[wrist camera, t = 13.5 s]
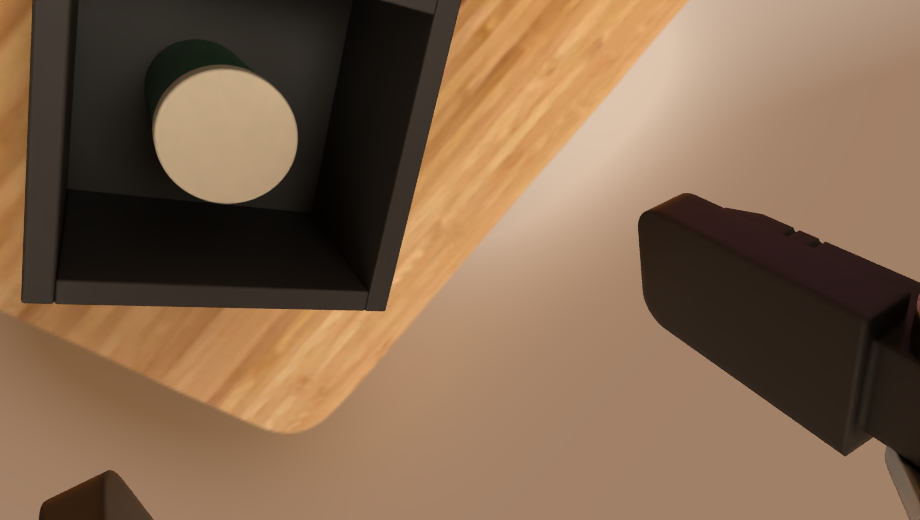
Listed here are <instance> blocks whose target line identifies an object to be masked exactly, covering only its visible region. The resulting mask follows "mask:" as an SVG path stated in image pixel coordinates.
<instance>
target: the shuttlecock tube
mask: <svg viewBox="0 0 920 520" xmlns="http://www.w3.org/2000/svg"><path fill="white" fill-rule="evenodd" d="M145 97H146V101H147V105H148V109H149V113H150V116H151V120H152V134H153V141H154V146H155V150H156V154H157V156H158V159H159V161H160V163H161V165H162V167H163V169H164V170H165V172H166V173H167V174H168V176H169V177H170V178H171V179H172V180H173V181H174V182H175V183H176V184H177V185H178V186H179V187H181V188H182V189H183V190H184V191H186V192H188V193H190V194H191V195H193V196H195V197H198V198H200V199H203V200H206V201H210V202H215V203H225V204H230V203H240V202H246V201H249V200H252V199H255V198H257V197H259V196H262V195H263V194H265V193H267V192H268V191H270V190H271V189H273V188H274V187H275V186H276V185H277V184H278V183H279V182H280V181H281V180H282V179H283V178H284V177H285V175H286V174H287V173H288V171H289V169H290V167H291V166H292V163H293V161H294V158H295V155H296V151H297V145H298V130H297V124H296V120H295V117H294V114H293V112H292V110H291V107H290V106H289V104H288V102H287V101H286V99H285V98H284V97H283V96H282V94H281V93H280V92H279V91H278V90H277V89H276V88H275V87H274V86H273V85H272V84H271V83H269V82H268V81H267V80H266V79H264V78H263V77H261V76H260V75H258V74H256V73H254V72H253V71H252V70H251V69H250V68H249V67H248V66H247V65H246V64H245V63H244V62H243V61H242V60H241V59H240V58H239V57H238V56H237V55H236V54H234V53H233V52H232V51H230V50H229V49H227V48H226V47H224V46H222V45H220V44H218V43H215V42H211V41H207V40H201V39H191V40H184V41H180V42H177V43H174V44H172V45H170V46H168V47H167V48H165V49H164V50H163V51H161V52H160V53H159V54H158V55H157V56H156V57H155V59H154V60H153V61H152V63H151V65H150V67H149V68H148V71H147V74H146V79H145Z"/></svg>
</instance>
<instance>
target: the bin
mask: <svg viewBox="0 0 920 520" xmlns="http://www.w3.org/2000/svg"><path fill="white" fill-rule="evenodd" d="M460 3H461V0H33V4H32V30H31V56H30V82H29V108H28V134H27V160H26V186H25V212H24V238H23V264H22V290H21V301H22V303H38V304H52V303H54V301H55V303H56V304H77V305H124V306H171V307H218V308H266V309H313V310H360V311H363V310H366V311H385V309H386V305H387V301H388V297H389V293H390V289H391V285H392V281H393V277H394V273H395V269H396V264H397V260H398V256H399V252H400V248H401V244H402V240H403V236H404V232H405V228H406V224H407V220H408V215H409V211H410V207H411V203H412V199H413V195H414V191H415V187H416V183H417V179H418V175H419V171H420V166H421V162H422V158H423V154H424V150H425V146H426V142H427V138H428V134H429V130H430V126H431V122H432V117H433V113H434V109H435V105H436V101H437V97H438V93H439V89H440V85H441V81H442V77H443V73H444V68H445V64H446V60H447V56H448V52H449V48H450V44H451V40H452V36H453V32H454V28H455V24H456V19H457V15H458V11H459V7H460ZM191 39H201V40H207V41H211V42H215V43H218V44H220V45H222V46H224V47H226V48H227V49H229V50H230V51H232V52H233V53H234V54H236V55H237V56H238V57H239V58H240V59H241V60H242V61H243V62H244V63H245V64H246V65H247V66H248V67H249V68H250V69H251V70H252V71H253V72H254V73H256V74H258V75H260V76H261V77H263V78H264V79H266V80H267V81H268V82H269V83H271V84H272V85H273V86H274V87H275V88H276V89H277V90H278V91H279V92H280V93H281V94H282V96H283V97H284V98H285V99H286V101H287V102H288V104H289V106H290V107H291V110H292V112H293V114H294V117H295V120H296V124H297V130H298V145H297V151H296V155H295V158H294V161H293V163H292V166H291V167H290V169H289V171H288V173H287V174H286V175H285V177H284V178H283V179H282V180H281V181H280V182H279V183H278V184H277V185H276V186H275V187H274V188H273V189H271V190H270V191H268V192H267V193H265V194H263V195H262V196H259V197H257V198H255V199H252V200H249V201H246V202H240V203H230V204H225V203H215V202H210V201H206V200H203V199H200V198H198V197H195V196H193V195H191V194H190V193H188V192H186V191H184V190H183V189H182V188H181V187H179V186H178V185H177V184H176V183H175V182H174V181H173V180H172V179H171V178H170V177H169V176H168V174H167V173H166V172H165V170H164V169H163V167H162V165H161V163H160V161H159V159H158V156H157V154H156V150H155V146H154V141H153V134H152V120H151V116H150V113H149V109H148V105H147V101H146V97H145V79H146V74H147V71H148V68H149V67H150V65H151V63H152V61H153V60H154V59H155V57H156V56H157V55H158V54H159V53H160V52H161V51H163V50H164V49H165V48H167V47H168V46H170V45H172V44H174V43H177V42H180V41H184V40H191Z"/></svg>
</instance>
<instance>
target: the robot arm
mask: <svg viewBox="0 0 920 520" xmlns="http://www.w3.org/2000/svg"><path fill="white" fill-rule="evenodd" d="M638 234H639V247H640V260H641V274H642V287H643V295H644V299H645V302H646V304H647V307H648V309H649V311H650V312H651V314H652V315H653V317H654V318H655V319H656V321H657V322H658V323H659V324H660V325H661V326H662V327H664V328H665V329H666V330H668V331H669V332H671V333H672V334H673V335H675V336H676V337H678V338H679V339H680V340H682V341H683V342H685V343H686V344H687V345H689V346H690V347H692V348H693V349H694V350H696V351H697V352H699V353H700V354H702V355H703V356H704V357H706V358H707V359H709V360H710V361H711V362H713V363H714V364H716V365H717V366H718V367H720V368H721V369H723V370H724V371H726V372H727V373H728V374H730V375H731V376H733V377H734V378H735V379H737V380H738V381H740V382H741V383H742V384H744V385H745V386H747V387H748V388H749V389H751V390H752V391H754V392H755V393H757V394H758V395H759V396H761V397H762V398H764V399H765V400H767V401H768V402H769V403H771V404H772V405H773V406H775V407H776V408H778V409H779V410H780V411H782V412H783V413H785V414H786V415H788V416H789V417H790V418H792V419H793V420H795V421H796V422H797V423H799V424H800V425H802V426H803V427H804V428H806V429H807V430H809V431H810V432H811V433H813V434H814V435H816V436H817V437H819V438H820V439H821V440H823V441H824V442H825V443H827V444H828V445H830V446H831V447H833V448H834V449H835V450H837V451H838V452H840V453H841V454H842V455H844V456H847V455H848V454H849V453H851V452H852V451H854V450H855V449H857V448H858V447H859V446H861V445H863V444H864V443H865V442H867V441H868V440H870V439H871V438H873V437H874V438H876V439H877V440H879V441H881V442H882V443H883V444H885V445H887V446H886V451H885V462H886V465H887V468H888V471H889V473H890V475H891V478H892V480H893V482H894V485H895V487H896V489H897V492H898V494H899V496H900V499H901V501H902V504H903V506H904V508H905V510H906V513H907V515H908V518H909V520H920V282H917V281H915V280H913V279H910V278H908V277H906V276H903V275H901V274H899V273H896V272H894V271H892V270H890V269H887V268H885V267H883V266H880V265H878V264H876V263H873V262H871V261H869V260H866V259H864V258H862V257H860V256H857V255H855V254H853V253H850V252H848V251H846V250H843V249H841V248H839V247H837V246H834V245H832V244H830V243H827V242H824V243H823V244H822V243H821V242H820V241H819V239H818V238H816V237H814V236H811V235H809V234H806V233H804V232H802V231H798V232H795V231H794V229H793V227H791V226H788V225H786V224H784V223H781V222H779V221H777V220H774V219H772V218H770V217H768V216H765V215H763V214H758V213H752V212H747V211H741V210H736V209H730V208H723V207H721V206H718V205H716V204H713V203H711V202H709V201H707V200H705V199H703V198H700V197H698V196H696V195H693V194H690V193H683V194H681V195H678V196H676V197H674V198H672V199H670V200H668V201H666V202H664V203H662V204H660V205H658V206H656V207H654V208H652V209H650V210H648V211H646V212H644V213H643V214H642V215H641V216H640V219H639V222H638ZM39 520H153V518H152V517H151V516H150V514H149V513H148V512H147V511H146V509H145V508H144V507H143V505H142V504H141V503H140V501H139V500H138V499H137V497H136V496H135V495H134V494H133V492H132V491H131V490H130V488H129V487H128V486H127V485H126V483H125V482H124V481H123V480H122V478H121V477H120V476H119V475H118V474H117V473H115V472H114V471H111V470H108V471H106V472H104V473H102V474H100V475H98V476H96V477H94V478H91V479H89V480H87V481H85V482H83V483H81V484H79V485H77V486H75V487H73V488H71V489H69V490H67V491H65V492H63V493H61V494H59V495H56V496H55V497H52V498H50V499H48V500H46V501H45V502H44V503H43V504H42V506H41V509H40V515H39Z"/></svg>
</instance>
